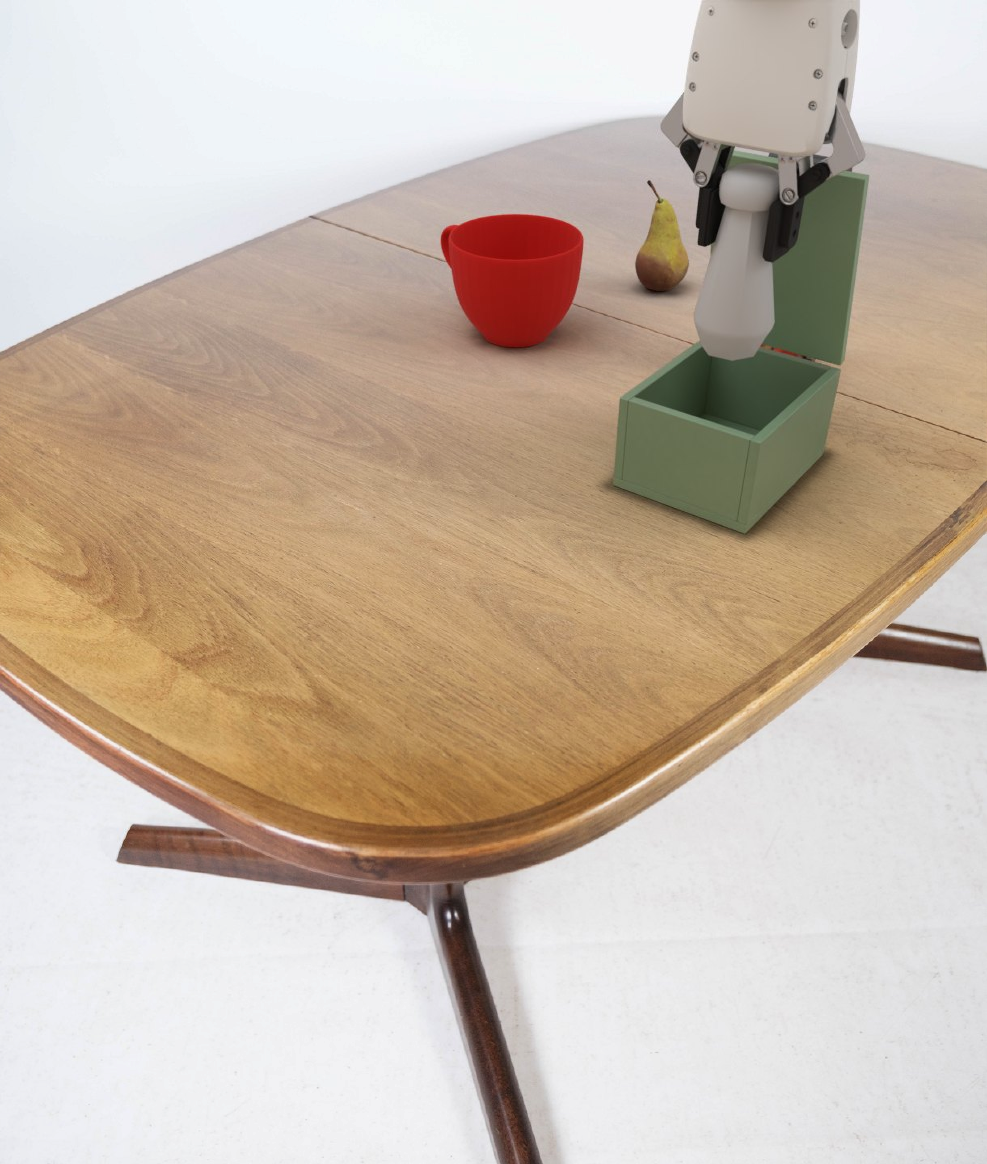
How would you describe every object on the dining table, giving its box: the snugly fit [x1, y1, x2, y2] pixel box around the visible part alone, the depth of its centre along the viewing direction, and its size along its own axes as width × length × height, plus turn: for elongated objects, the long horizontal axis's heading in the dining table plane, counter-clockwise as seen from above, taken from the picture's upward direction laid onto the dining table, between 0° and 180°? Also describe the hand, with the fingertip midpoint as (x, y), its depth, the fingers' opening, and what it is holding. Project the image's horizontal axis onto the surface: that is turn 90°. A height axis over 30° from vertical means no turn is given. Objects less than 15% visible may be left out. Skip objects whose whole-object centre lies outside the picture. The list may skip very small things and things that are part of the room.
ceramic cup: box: [440, 213, 584, 348], centre depth 107 cm, size 13×17×10 cm
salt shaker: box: [693, 164, 780, 361], centre depth 76 cm, size 6×6×13 cm
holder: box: [612, 339, 842, 535], centre depth 86 cm, size 15×12×8 cm
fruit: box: [634, 179, 690, 292], centre depth 115 cm, size 6×6×12 cm
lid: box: [709, 149, 870, 367], centre depth 83 cm, size 15×12×5 cm
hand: (743, 245), depth 75 cm, fingers closed on salt shaker, 4 cm apart
